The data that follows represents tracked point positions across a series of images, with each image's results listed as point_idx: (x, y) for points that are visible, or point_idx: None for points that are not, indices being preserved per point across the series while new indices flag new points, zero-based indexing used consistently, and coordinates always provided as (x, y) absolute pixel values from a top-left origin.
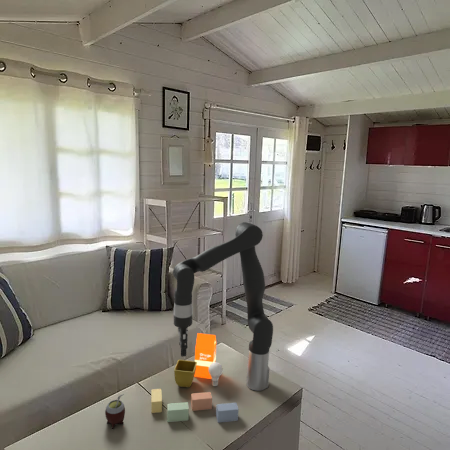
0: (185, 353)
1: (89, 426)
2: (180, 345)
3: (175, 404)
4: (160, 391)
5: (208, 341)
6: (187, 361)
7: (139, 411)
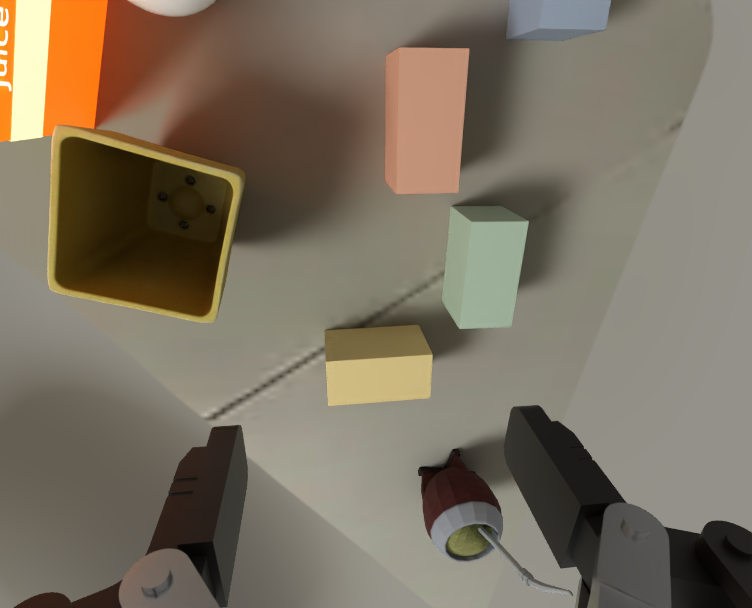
0: (582, 446)
1: None
2: (247, 468)
3: (474, 289)
4: (352, 364)
5: None
6: (60, 214)
7: (397, 407)
